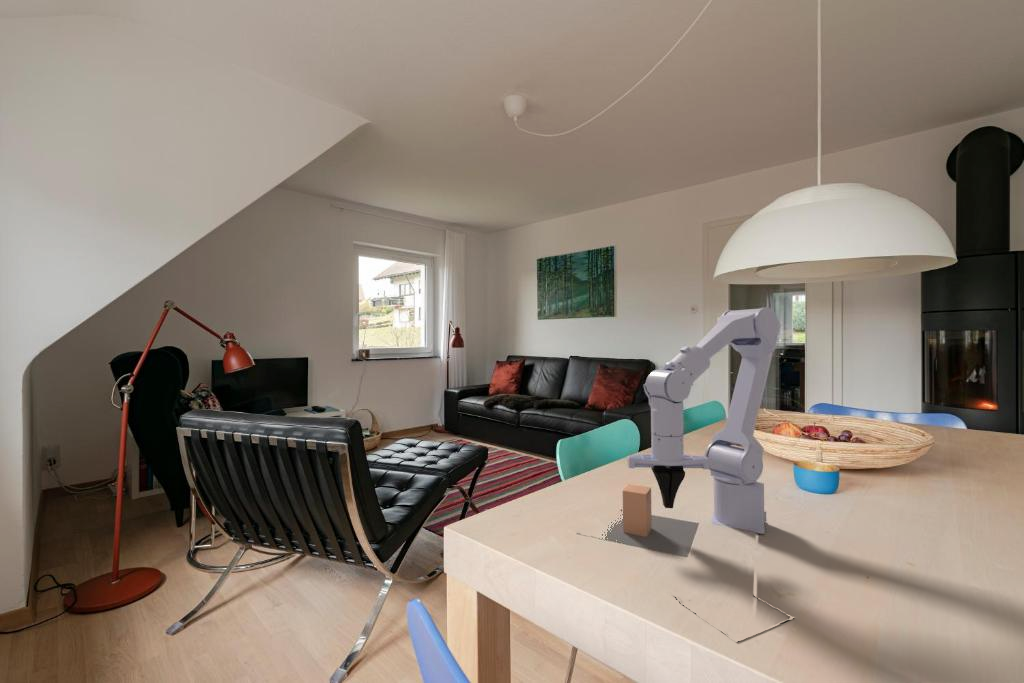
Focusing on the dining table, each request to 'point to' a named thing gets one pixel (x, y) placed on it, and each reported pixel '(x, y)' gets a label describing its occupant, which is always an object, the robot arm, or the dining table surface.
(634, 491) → the terracotta block
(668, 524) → the charcoal mat
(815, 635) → the dining table surface
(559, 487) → the dining table surface
